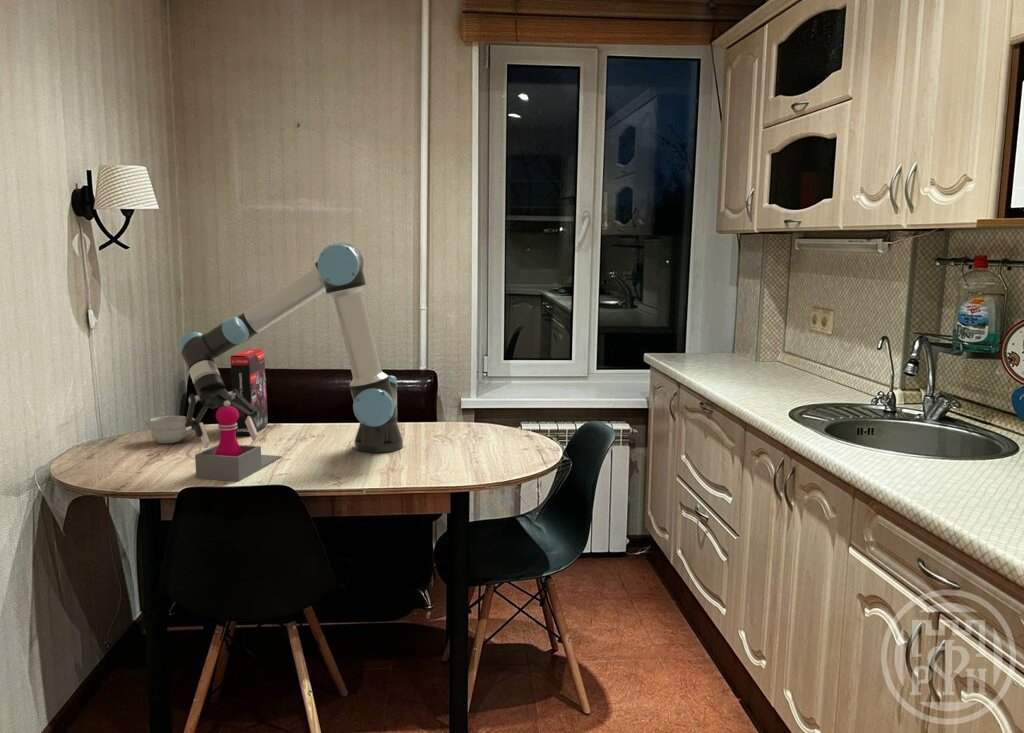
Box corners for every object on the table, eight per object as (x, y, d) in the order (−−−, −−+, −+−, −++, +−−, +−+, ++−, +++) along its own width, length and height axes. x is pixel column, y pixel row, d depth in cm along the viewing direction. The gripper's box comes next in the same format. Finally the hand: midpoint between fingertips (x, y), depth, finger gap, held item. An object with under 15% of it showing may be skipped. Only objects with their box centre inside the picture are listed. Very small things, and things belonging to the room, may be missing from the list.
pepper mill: (218, 476, 220) (215, 403, 217) (213, 469, 226) (210, 399, 223) (245, 473, 223) (243, 401, 220) (240, 466, 230) (238, 397, 227)
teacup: (145, 445, 254) (144, 421, 253) (158, 437, 265) (157, 414, 264) (190, 445, 255) (189, 421, 254) (201, 438, 266) (200, 414, 265)
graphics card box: (253, 436, 268) (250, 355, 265) (232, 436, 268) (229, 355, 264) (268, 425, 285) (266, 348, 281) (248, 425, 285) (246, 348, 281)
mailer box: (281, 457, 242) (281, 436, 241) (239, 481, 217) (238, 457, 217) (242, 455, 244) (241, 434, 243) (196, 478, 220) (195, 454, 219)
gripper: (245, 383, 241) (270, 442, 232) (159, 393, 224) (182, 456, 216) (252, 368, 236) (278, 427, 228) (165, 376, 220) (189, 440, 211)
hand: (231, 441), depth 222 cm, fingers open, 13 cm apart
